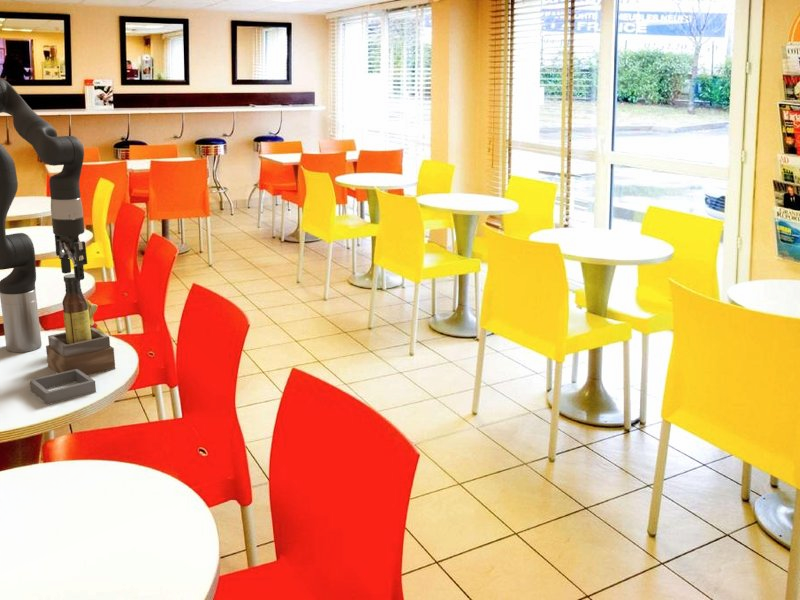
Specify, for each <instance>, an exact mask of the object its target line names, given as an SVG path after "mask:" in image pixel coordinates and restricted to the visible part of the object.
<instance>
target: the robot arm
mask: <svg viewBox="0 0 800 600" xmlns="http://www.w3.org/2000/svg"><path fill="white" fill-rule="evenodd" d="M1 113H2V114H3V113H4V114H7V115H10V116H12V123H13V128H14V130H15V131H16V133H17V134H18V135H19V136H20V137H21V138H23V140H25V141H26V142H27V143H28V144H29V145H31V146H32V148H33V149H34V151H35V152H36V155H37V156H38V158H39V160H40V161H41V162H43V163H44V164H46V165H48V166H54V167H55V166H62V168H61V171H60V172H58V173H56V174H54V175H52V176H50V177H49V182H48V183H49V184H48V185H49V194H50V213H51V225H52V233H53V234H54V242H55V245H54V246H55V254H56V256H57V257H58V259H59V260H60V265H61V266H60V267H61V273H62V274H63V275H64V274H65V275H67V274H71V272H72V268H71V267H72V266H71V265H72V264H73V274H74V275H75V280H80V281H82V280H84V279H85V272H84V271H85V269H84V266H85V265H88V255H87V247H86V242H85V240H84V241H83V240H82V241H81V240H80V237H79V236H80V235H83V234H84V233H85V221H84V211H83V210H84V209H83V203H82V199H81V198H82V197H81V189H80V188H81V187H80V181H81V180H80V179H81V174H82V169H83V163H84V158H85V150H84V145H83V143H82V142H81V140H80V139H79V138H78V137H76V136H74V135H63V136H62V135H61V136H58V133H57V130H56V129H55V127H54V126H52V125H51V123H49V122H48V121H46V119H44V118H42V116H40V115H38V113H37V112H35V111H34V110H32V108H31V107H30V106H29V105H28V103H27V102H26V101H25V100H24V99H23V97H22V96H21V95H20V94H19V93H18V92H17V91H16V89H15V88H14V87H13V85H12V84H10V83H9V82H8V81H7V80H5V79H4V78H2V77H0V114H1ZM18 185H19V183H18V177H17V169H16V164H15V161H14V159H13V157H12V156H11V155H10V153H9V152H8V151H7V149H6V148H5V146H3V144H2V143H1V142H0V271H1V270H2V271H4V270H9V269H12V271H10V273H9V274H8V275H6V276H5V277H3V278H2V279H1V280H0V305H1V306H0V307H1V314H2V322H3V323H2V324H3V329H4V338H5V339H4V340H5V346H6V347H5V348H6V350H7V351H9V352H12V353H24V352H30V351H34V350H37V349H39V348H41V346H42V344H43V343H42V336H41V327H40V318H39V316H40V315H39V309H38V301H37V300H38V299H37V293H36V281H37V272H36V271H37V268H36V266H37V265H36V252H35V246H34V243H33V240H32V239H31V237H30V236H29V235H28V234H26V233H24V232H16V233H11V234H6V221H7V216H8V213H9V210H10V208H11V206H12V204H13V201H14V199H15V197H16V195H17V193H18V188H19V187H18ZM71 262H72V264H71Z"/></svg>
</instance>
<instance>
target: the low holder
mask: <svg viewBox="0 0 800 600" xmlns="http://www.w3.org/2000/svg"><path fill="white" fill-rule="evenodd" d="M72 383H75V384H72ZM66 384H71V385H67V386H63V385H66ZM59 386H63V387H59ZM96 386H97V385H96V380H94V378H91V377H90V375H88V376H87V375H86V374H84V373H83V372H81V371H80V370H79V369H74V370H69V371H65V372H61V373H53V374H49V375H44V376H41V377H37V378H33V379H29V389H30V392H31V393H33V394H34V395H35V396H36V397H37V398H39V400H41V402H43V403H45V404H46V405H53V404H55V403H60V402H63V401H64V402H65V401H68V400H71V399H74V398H75V399H76V398H78V397H82V396H83V397H84V396H86V395H90V394H94V393H97V387H96ZM55 387H59V388H56V389H52V390H48V389H50V388H55Z"/></svg>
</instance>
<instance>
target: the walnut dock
mask: <svg viewBox="0 0 800 600" xmlns="http://www.w3.org/2000/svg"><path fill="white" fill-rule="evenodd" d="M90 329H91V338H92V339H91V340H87V341H82V342H77V343H73V344H68V343H67V340H66V331H65V332H61V333H60V332H59V333H56V334H50V335H48V336H47V338H48V344H47V345H45V348H46V351H45V352H46V358H47V359H46V361H47V367H48V368H49V369H51V370H52V371H54V372H55V373H56V372H57V373H61V372H65V371H69V370H74V369H79V370H80V371H81V372H83V373H84V374H86V375H87V376H90V375H95V373H96V374H99V372H100V373H103V372H102V371H104V372H107V370H108V371H112V370H115V369H116V362H115V361H116V360H115V348H114V347H113V346H112V345H111V342H110V339H111V338H110V336H109V335H107V334H106V333H105V334H106V335H105V334H103V333H102V332H100V331H98V330H97V329H95V328H93V327H90ZM111 369H112V370H111ZM57 373H56V374H57Z"/></svg>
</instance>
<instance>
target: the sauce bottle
mask: <svg viewBox="0 0 800 600" xmlns="http://www.w3.org/2000/svg"><path fill="white" fill-rule="evenodd" d="M63 282H64V285H65V294H64V297H63V298H62V299H63V300H62V308H63V309H62V310H63V311H62V312H63V313H62V314H63V322H64V329H65V330H64V331H65V332H66V340H67V343H68V344H73V343H77V342H82V341H87V340H91V339H92V338H91V329H90V320H89V311H88V305H87V302H86V300H85V299H86V298H85V296H84V293H83V292H82V288H81V280H75V275H74V273H67V274H65V275H63Z"/></svg>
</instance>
